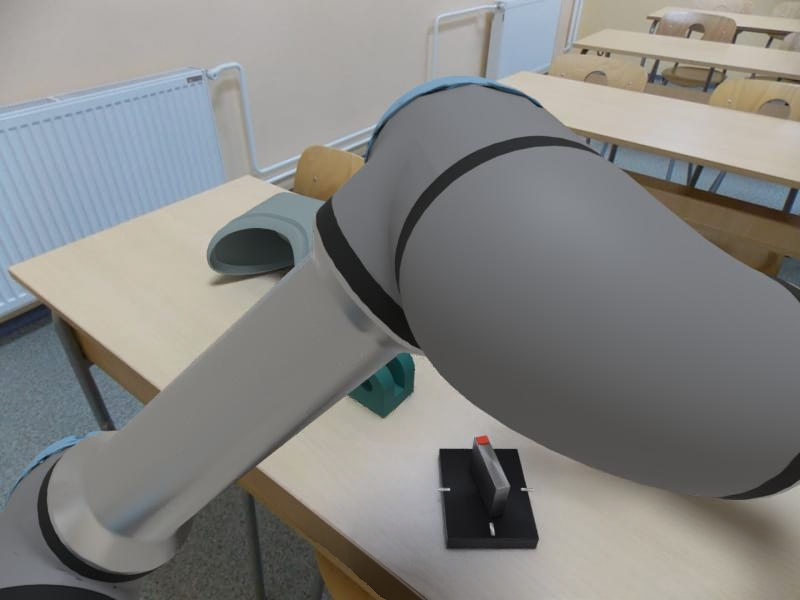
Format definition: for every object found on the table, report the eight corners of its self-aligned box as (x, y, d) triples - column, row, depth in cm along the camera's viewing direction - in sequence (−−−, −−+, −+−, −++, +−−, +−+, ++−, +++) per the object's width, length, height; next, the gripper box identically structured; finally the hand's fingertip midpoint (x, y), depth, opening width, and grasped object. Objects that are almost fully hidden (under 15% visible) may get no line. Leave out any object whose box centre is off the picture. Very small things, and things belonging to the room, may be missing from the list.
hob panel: (541, 548, 57) (545, 538, 56) (440, 549, 57) (442, 538, 56) (519, 458, 67) (522, 447, 66) (433, 458, 67) (434, 447, 65)
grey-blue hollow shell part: (363, 269, 103) (361, 210, 95) (306, 321, 89) (299, 257, 81) (274, 241, 111) (266, 185, 103) (210, 285, 97) (195, 224, 89)
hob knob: (503, 515, 58) (510, 484, 55) (489, 518, 58) (496, 487, 55) (481, 464, 64) (487, 433, 60) (469, 466, 63) (474, 435, 60)
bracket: (413, 391, 76) (415, 351, 72) (383, 418, 72) (384, 377, 67) (327, 339, 85) (324, 301, 81) (296, 360, 81) (291, 321, 76)
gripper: (666, 468, 48) (473, 363, 59) (730, 338, 64) (569, 274, 74) (695, 413, 43) (481, 310, 54) (756, 288, 59) (581, 228, 70)
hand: (532, 289), depth 64 cm, fingers open, 13 cm apart
